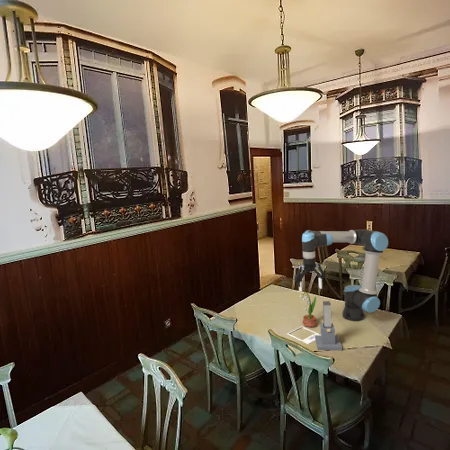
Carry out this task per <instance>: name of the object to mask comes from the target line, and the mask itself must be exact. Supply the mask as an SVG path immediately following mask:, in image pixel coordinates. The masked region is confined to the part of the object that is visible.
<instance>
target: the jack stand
mask: <svg viewBox="0 0 450 450" xmlns="http://www.w3.org/2000/svg"><path fill="white" fill-rule="evenodd" d="M319 323H320V322H319ZM320 334H321V335H315V340H316V341H315V344H316V348H317V350H318V351H343V346H342V344H341V342H340V338H339V336H338V335H336V329H335V326H334V323H332V322H331V328H324V322H323V323H322V322H321V323H320Z"/></svg>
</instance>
